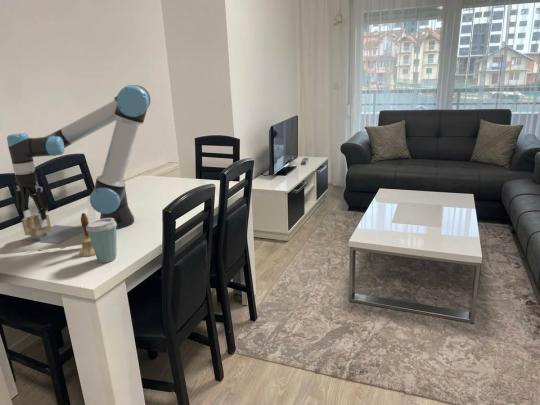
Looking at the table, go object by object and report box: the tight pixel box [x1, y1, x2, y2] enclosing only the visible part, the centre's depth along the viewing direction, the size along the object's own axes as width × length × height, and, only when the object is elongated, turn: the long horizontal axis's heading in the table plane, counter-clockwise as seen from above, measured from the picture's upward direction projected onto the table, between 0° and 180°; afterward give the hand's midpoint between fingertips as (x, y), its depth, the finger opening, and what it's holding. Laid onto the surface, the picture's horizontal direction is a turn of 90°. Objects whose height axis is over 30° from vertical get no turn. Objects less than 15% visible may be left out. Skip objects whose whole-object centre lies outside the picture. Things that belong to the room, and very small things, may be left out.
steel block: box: [32, 233, 47, 241], centre depth 178 cm, size 4×4×8 cm
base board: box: [20, 224, 84, 245], centre depth 183 cm, size 20×19×2 cm
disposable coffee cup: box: [86, 218, 117, 263], centre depth 156 cm, size 11×11×15 cm
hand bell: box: [78, 212, 96, 258], centre depth 163 cm, size 8×8×16 cm
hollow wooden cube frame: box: [21, 213, 52, 237], centre depth 177 cm, size 7×7×7 cm
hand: (37, 225), depth 177 cm, fingers closed on hollow wooden cube frame, 7 cm apart
